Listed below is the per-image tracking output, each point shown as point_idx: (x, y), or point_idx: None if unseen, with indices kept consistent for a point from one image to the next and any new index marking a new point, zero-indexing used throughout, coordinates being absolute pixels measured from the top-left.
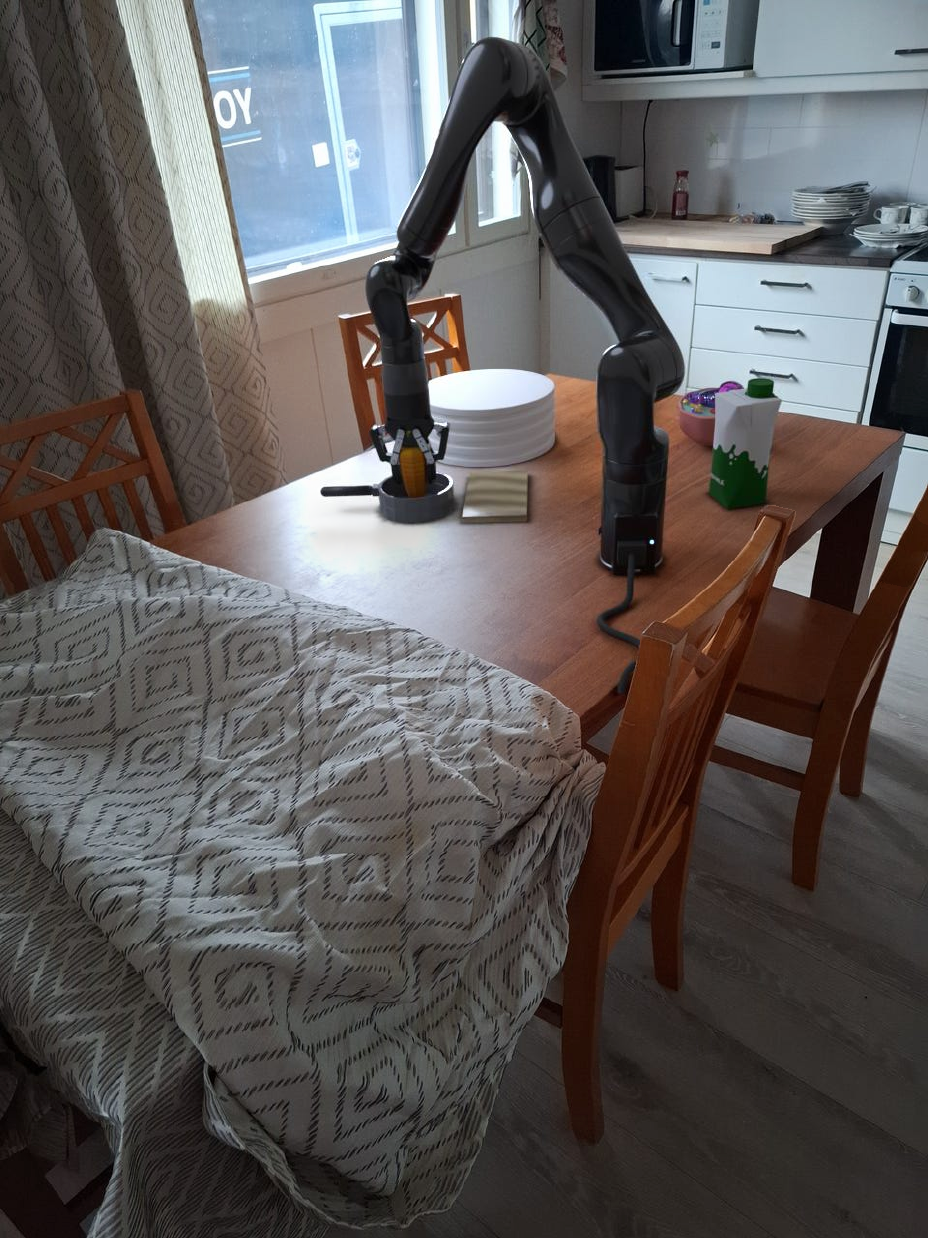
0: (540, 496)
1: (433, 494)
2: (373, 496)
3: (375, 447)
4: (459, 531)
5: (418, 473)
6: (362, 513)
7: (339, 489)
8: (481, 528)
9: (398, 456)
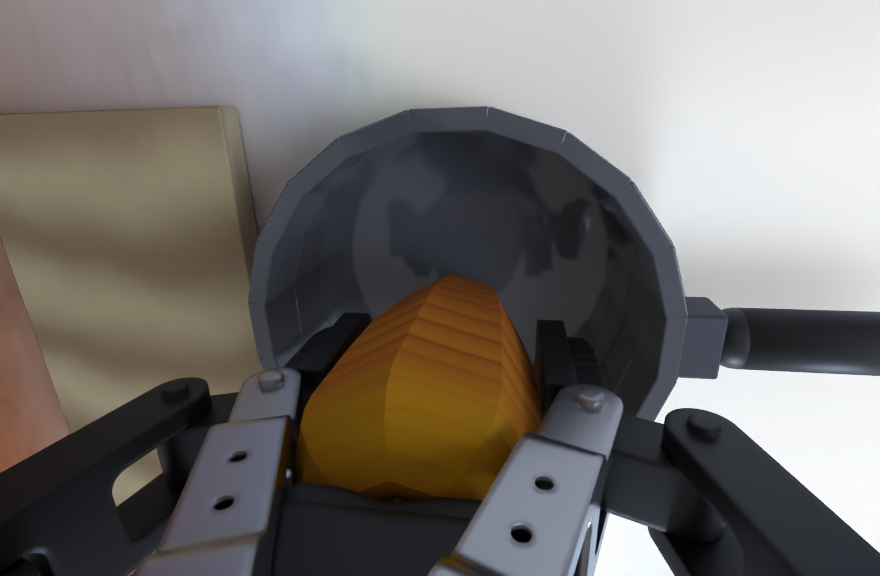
0: (26, 344)
1: None
2: (702, 297)
3: (853, 532)
4: (229, 10)
5: (395, 316)
6: (742, 250)
7: None
8: (142, 46)
9: (540, 427)
